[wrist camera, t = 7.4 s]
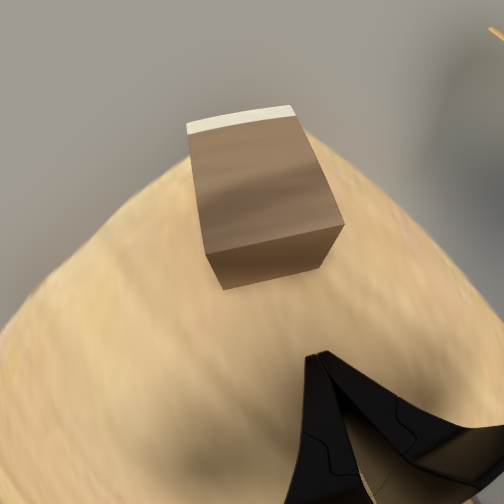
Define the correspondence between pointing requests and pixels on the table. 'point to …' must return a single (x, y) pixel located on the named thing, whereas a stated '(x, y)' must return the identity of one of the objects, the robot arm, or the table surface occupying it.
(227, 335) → the table surface
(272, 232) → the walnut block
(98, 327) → the table surface
